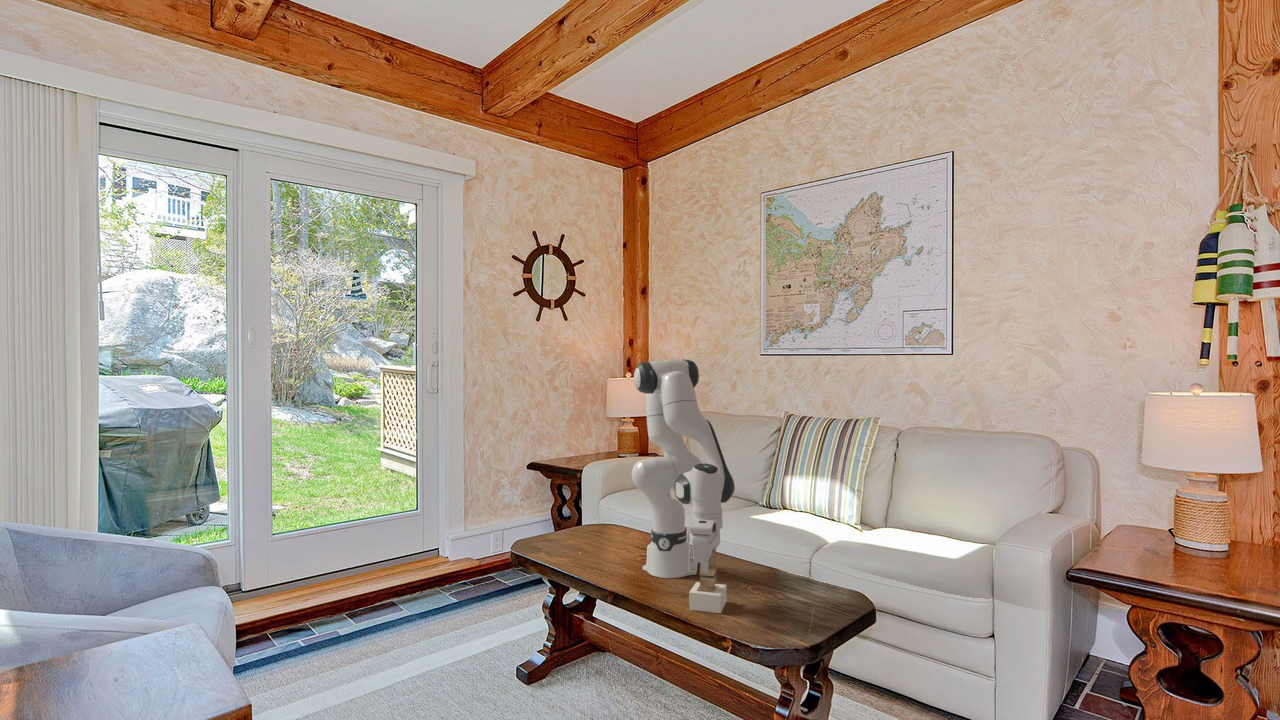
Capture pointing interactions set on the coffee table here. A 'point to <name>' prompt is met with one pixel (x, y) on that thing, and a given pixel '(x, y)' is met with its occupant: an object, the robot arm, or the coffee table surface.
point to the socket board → (707, 599)
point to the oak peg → (709, 574)
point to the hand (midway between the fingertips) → (708, 569)
